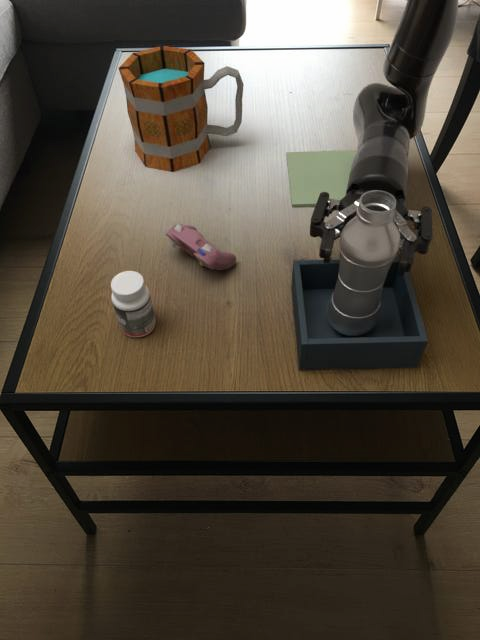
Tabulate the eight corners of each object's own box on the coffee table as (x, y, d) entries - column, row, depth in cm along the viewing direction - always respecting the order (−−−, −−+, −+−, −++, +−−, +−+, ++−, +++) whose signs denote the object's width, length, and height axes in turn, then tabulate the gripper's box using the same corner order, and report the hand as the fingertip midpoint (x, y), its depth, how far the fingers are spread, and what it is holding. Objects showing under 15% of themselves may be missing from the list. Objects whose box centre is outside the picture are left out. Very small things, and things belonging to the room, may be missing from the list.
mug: (133, 174, 92) (115, 90, 80) (136, 129, 100) (121, 48, 89) (247, 166, 92) (246, 82, 81) (242, 123, 101) (240, 41, 89)
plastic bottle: (317, 311, 72) (334, 189, 56) (363, 298, 73) (393, 175, 57) (337, 348, 68) (360, 228, 52) (385, 335, 69) (423, 213, 53)
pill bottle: (117, 316, 73) (103, 274, 66) (151, 306, 73) (140, 263, 67) (125, 343, 70) (111, 301, 63) (160, 332, 71) (150, 290, 64)
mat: (377, 152, 94) (378, 149, 94) (392, 204, 85) (393, 201, 85) (286, 154, 94) (286, 151, 94) (291, 207, 86) (292, 204, 85)
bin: (396, 285, 75) (404, 257, 70) (417, 367, 66) (428, 341, 62) (291, 288, 75) (293, 260, 71) (298, 370, 66) (301, 344, 62)
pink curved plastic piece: (176, 252, 82) (154, 232, 76) (195, 229, 82) (174, 206, 76) (221, 285, 78) (202, 266, 71) (241, 260, 78) (223, 239, 71)
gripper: (327, 147, 70) (304, 230, 60) (441, 161, 67) (437, 250, 57) (322, 193, 75) (300, 276, 66) (426, 208, 73) (420, 296, 63)
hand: (364, 264), depth 62 cm, fingers open, 8 cm apart
